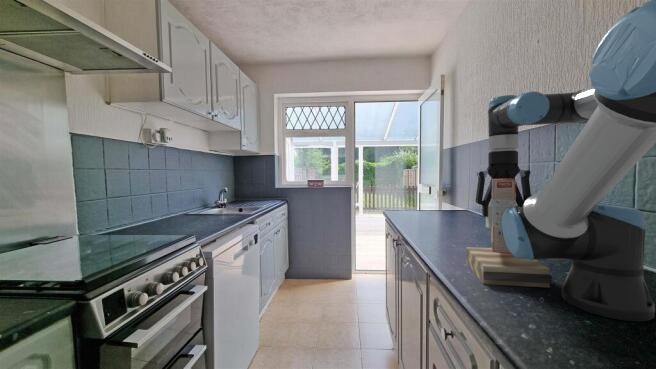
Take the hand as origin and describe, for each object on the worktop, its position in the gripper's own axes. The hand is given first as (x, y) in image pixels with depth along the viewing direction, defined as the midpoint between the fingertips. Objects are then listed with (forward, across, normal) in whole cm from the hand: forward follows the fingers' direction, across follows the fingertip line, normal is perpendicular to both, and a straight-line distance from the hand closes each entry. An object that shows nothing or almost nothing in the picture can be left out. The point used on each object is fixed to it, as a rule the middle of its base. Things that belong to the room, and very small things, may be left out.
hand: (502, 227), depth 86 cm
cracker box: (+6, 0, 0) cm, 6 cm away
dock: (+14, 0, 0) cm, 14 cm away
